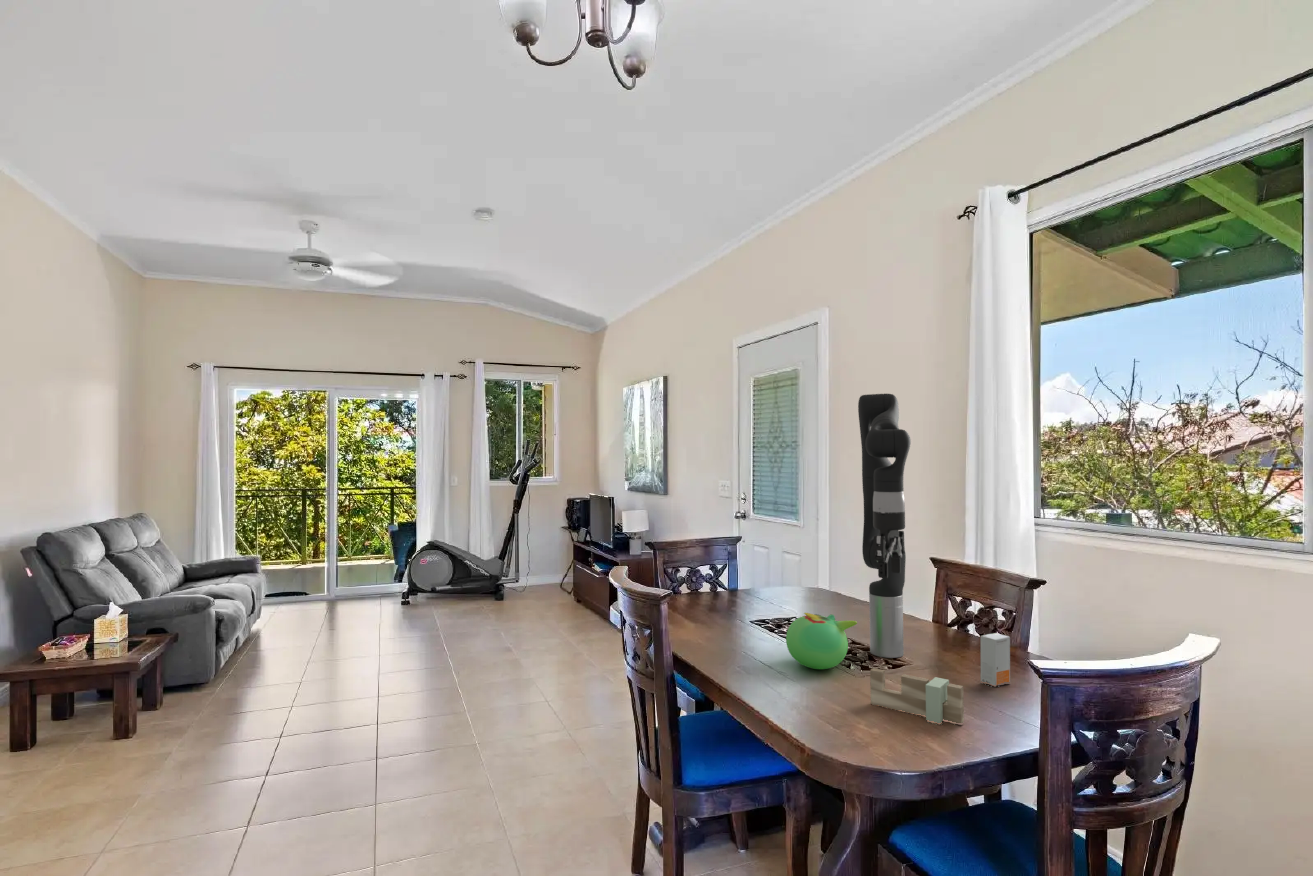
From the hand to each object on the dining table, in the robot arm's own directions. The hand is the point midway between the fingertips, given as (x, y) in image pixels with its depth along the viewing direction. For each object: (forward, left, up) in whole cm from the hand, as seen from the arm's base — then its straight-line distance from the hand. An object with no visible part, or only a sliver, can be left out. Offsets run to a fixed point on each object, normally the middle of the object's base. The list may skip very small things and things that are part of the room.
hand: (889, 575), depth 170 cm
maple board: (+12, +10, -28) cm, 32 cm away
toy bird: (-5, -22, -28) cm, 36 cm away
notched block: (+12, +15, -28) cm, 34 cm away
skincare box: (-20, +19, -28) cm, 40 cm away
